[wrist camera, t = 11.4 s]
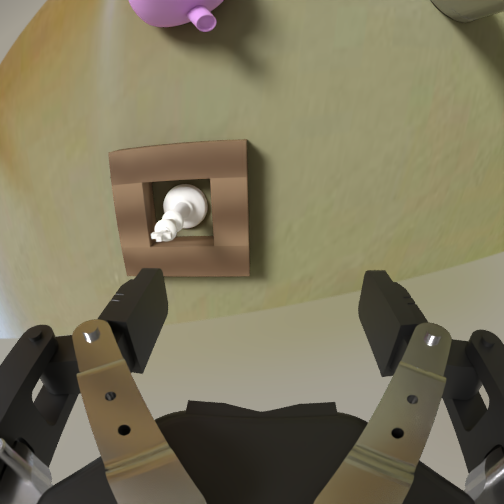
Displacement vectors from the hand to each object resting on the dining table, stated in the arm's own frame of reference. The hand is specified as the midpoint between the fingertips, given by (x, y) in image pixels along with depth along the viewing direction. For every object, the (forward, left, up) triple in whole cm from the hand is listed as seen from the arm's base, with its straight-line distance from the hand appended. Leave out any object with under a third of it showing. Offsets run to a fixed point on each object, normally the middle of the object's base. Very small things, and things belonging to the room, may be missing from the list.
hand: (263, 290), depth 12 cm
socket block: (+2, -8, -22) cm, 23 cm away
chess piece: (+2, -8, -22) cm, 23 cm away
